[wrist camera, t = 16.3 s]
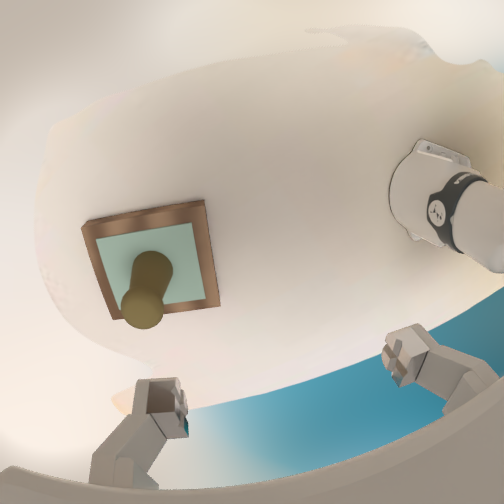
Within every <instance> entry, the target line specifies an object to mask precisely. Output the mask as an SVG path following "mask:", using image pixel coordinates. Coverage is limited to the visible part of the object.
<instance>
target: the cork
mask: <svg viewBox="0 0 504 504" xmlns="http://www.w3.org/2000/svg"><path fill="white" fill-rule="evenodd" d="M172 275H173V267H172V264H171V262H170V260H169V259H168V258H167V257H166V256H165V255H164V254H162V253H160V252H157V251H145V252H142V253H141V254H139V255H138V256H137V257H136V258H135V260H134V262H133V265H132V272H131V279H130V286H129V290H128V291H127V292H126V293H125V294H124V296H123V297H122V300H121V304H120V305H121V313H122V315H123V317H124V319H125V320H126V321H127V323H128V324H130V325H131V326H133V327H135V328H138V329H149V328H152V327H154V326H156V325H157V324H158V323H159V322H160V321H161V319H162V317H163V314H164V303H163V300H162V299H163V297H164V294H165V292H166V290H167V287H168V285H169V283H170V280H171V278H172Z"/></svg>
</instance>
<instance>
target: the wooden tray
mask: <svg viewBox="0 0 504 504" xmlns="http://www.w3.org/2000/svg"><path fill="white" fill-rule="evenodd" d="M81 230H82V234H83V237H84V240H85V244H86V247H87V250H88V254H89V257H90V260H91V263H92V266H93V269H94V272H95V275H96V277H97V280H98V283H99V286H100V289H101V291H102V294H103V297H104V299H105V302H106V304H107V307H108V309H109V312H110V314H111V317H112V319H113V320H117V319H124V317H123V315H122V313H121V305H120V304H121V300H122V297H123V296H124V294H125V293H126V292H127V291H128V290H129V286H130V279H131V272H132V265H133V262H134V260H135V258H136V257H137V256H138V255H139V254H141V253H142V252H145V251H157V252H160V253H162V254H164V255H165V256H166V257H167V258H168V259H169V260H170V262H171V264H172V267H173V275H172V278H171V280H170V283H169V285H168V287H167V290H166V292H165V294H164V297H163V299H162V300H163V303H164V314H168V313H176V312H184V311H191V310H198V309H205V308H212V307H219V306H221V305H220V297H219V291H218V285H217V279H216V274H215V268H214V262H213V255H212V249H211V243H210V236H209V230H208V223H207V217H206V210H205V203H204V200H201V201H194V202H188V203H181V204H175V205H169V206H163V207H157V208H152V209H146V210H141V211H135V212H130V213H125V214H119V215H114V216H109V217H104V218H100V219H95V220H90V221H87V222H86V223H85V224H84V225H83V226H82V227H81Z"/></svg>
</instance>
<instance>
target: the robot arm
mask: <svg viewBox="0 0 504 504" xmlns="http://www.w3.org/2000/svg"><path fill="white" fill-rule="evenodd" d="M427 147H428V148H427ZM390 206H391V210H392V213H393V215H394V217H395V219H396V220H397V221H398V222H399V223H400V224H401V225H402V226H403V227H405V228H406V229H407V231H408V234H409V236H410V238H411V239H413V240H415V241H418V240H421V239H424V240H426V241H428V242H430V243H432V244H434V245H436V246H438V247H442V246H445V245H447V246H448V247H449V248H450V249H452V250H454V251H457V252H458V253H461V254H466V255H468V256H469V257H470V258H472V259H473V260H475V261H476V262H478V263H479V264H481V265H482V266H483V267H485V268H486V269H488V270H489V271H491V272H493V273H501V274H502V273H504V188H501V187H498V186H495V185H492V184H490V183H488V181H486V180H485V179H484V178H483V177H482V176H481V174H480V172H479V171H477V170H474V169H472V168H471V163H470V160H469V157H467V156H464V155H462V154H460V153H457V152H455V151H452V150H450V149H447V148H445V147H442V146H440V145H437V144H434V143H432V142H429V141H426V140H423V139H420V140H418V142H417V143H416V145H415V147H414V149H413V151H412V152H411V153H410V154H409V155H408V156H407V157H406V158H405V159H404V160H403V161H402V162H401V163H400V164H399V166H398V167H397V169H396V171H395V173H394V175H393V178H392V181H391V186H390ZM385 341H386V343H387V344H386V345H385V347H384V348H383V350H382V361H383V364H384V366H385V368H386V369H387V370H389V371H391V372H392V378H393V380H394V381H395V382H396V384H397V386H398V387H402V386H405V385H407V384H410V383H412V382H415V381H416V383H417V384H419V385H421V386H422V387H424V388H426V389H428V390H429V391H431V392H433V393H434V394H436V395H438V396H440V397H442V398H443V399H445V400H447V401H448V402H447V403H446V405H445V406H444V408H443V411H442V412H443V414H444V415H445V416H443V417H441V418H440V419H438V420H436V421H434V422H432V423H431V424H429V425H427V426H425V427H423V428H421V429H419V430H417V431H415V432H413V433H411V434H409V435H407V436H405V437H403V438H401V439H398V440H396V441H394V442H392V443H389V444H387V445H384V446H382V447H380V448H377V449H375V450H372V451H370V452H367V453H364V454H362V455H359V456H356V457H353V458H351V459H348V460H345V461H342V462H339V463H336V464H332V465H329V466H326V467H322V468H319V469H315V470H312V471H308V472H304V473H300V474H296V475H292V476H287V477H283V478H278V479H273V480H268V481H262V482H256V483H250V484H243V485H236V486H226V487H216V488H204V489H185V490H184V489H183V490H159V485H158V483H156V482H155V481H154V480H153V479H152V478H151V477H150V476H149V475H148V474H147V472H148V470H149V469H150V467H151V465H152V464H153V462H154V461H155V459H156V457H157V456H158V454H159V452H160V451H161V449H162V448H163V446H164V444H165V443H166V441H167V439H175V438H187V437H189V433H188V432H189V431H188V421H187V419H186V415H187V414H188V406H187V399H186V396H185V393H184V390H182V389H180V381H179V379H178V377H173V378H156V379H139V380H138V381H137V383H136V388H135V394H134V401H133V409H132V414H129V415H127V416H126V418H125V419H124V420H123V421H122V422H121V423H120V424H119V425H118V426H117V428H116V429H115V430H114V431H113V432H112V433H111V434H110V435H109V436H108V438H107V439H106V440H105V441H104V442H103V443H102V444H101V445H100V446H99V448H98V449H97V450H96V451H95V452H94V453H93V455H92V462H91V469H90V475H89V483H82V482H77V481H71V480H66V479H61V478H57V477H53V476H49V475H45V474H41V473H37V472H33V471H30V470H27V469H24V468H21V467H17V466H10V467H8V468H6V469H5V470H3V471H2V472H1V473H0V504H504V376H503V377H502V378H499V377H498V375H497V374H496V373H495V372H494V371H493V370H492V369H491V368H490V366H489V365H488V364H487V363H486V362H485V361H484V360H481V359H478V358H475V357H473V356H470V355H468V354H465V353H462V352H460V351H457V350H454V349H452V348H449V347H447V346H444V345H441V346H440V345H439V344H438V343H437V342H436V341H435V340H434V339H433V338H432V337H431V335H430V334H429V333H428V332H427V331H426V330H425V329H424V328H423V327H422V326H421V325H420V324H418V323H417V324H414V325H411V326H408V327H405V328H402V329H399V330H396V331H394V332H391V333H388V334H387V336H386V339H385Z"/></svg>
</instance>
